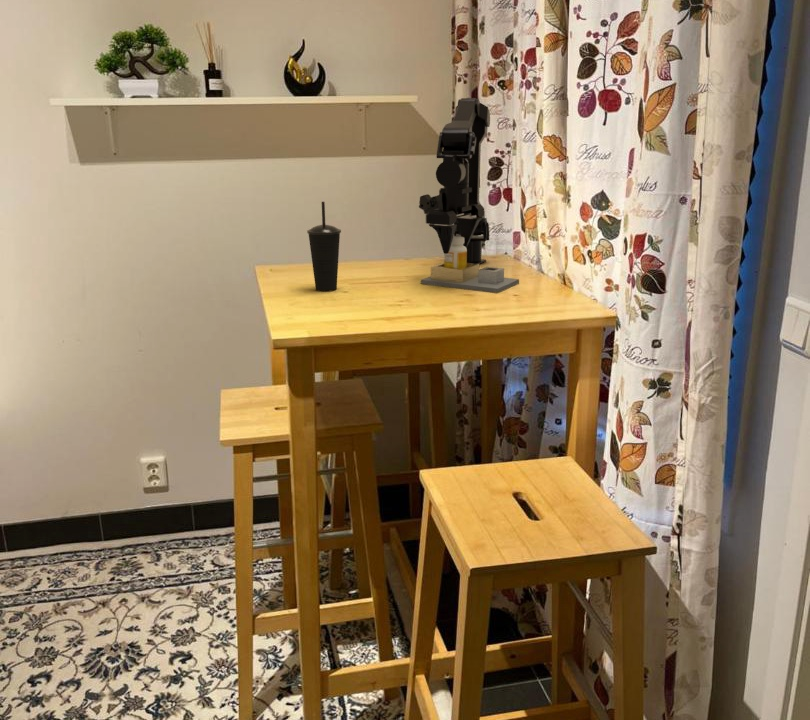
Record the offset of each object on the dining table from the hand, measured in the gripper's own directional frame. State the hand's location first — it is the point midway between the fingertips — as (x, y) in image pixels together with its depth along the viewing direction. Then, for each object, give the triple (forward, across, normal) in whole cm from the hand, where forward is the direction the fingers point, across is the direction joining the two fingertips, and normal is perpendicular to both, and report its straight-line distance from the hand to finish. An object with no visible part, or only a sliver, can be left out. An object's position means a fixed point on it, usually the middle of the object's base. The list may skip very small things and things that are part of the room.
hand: (455, 250), depth 187 cm
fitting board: (+8, 0, +4) cm, 9 cm away
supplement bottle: (+7, 0, 0) cm, 7 cm away
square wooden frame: (+8, 0, 0) cm, 8 cm away
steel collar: (+8, 0, +10) cm, 12 cm away
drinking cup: (+8, +22, -22) cm, 32 cm away
